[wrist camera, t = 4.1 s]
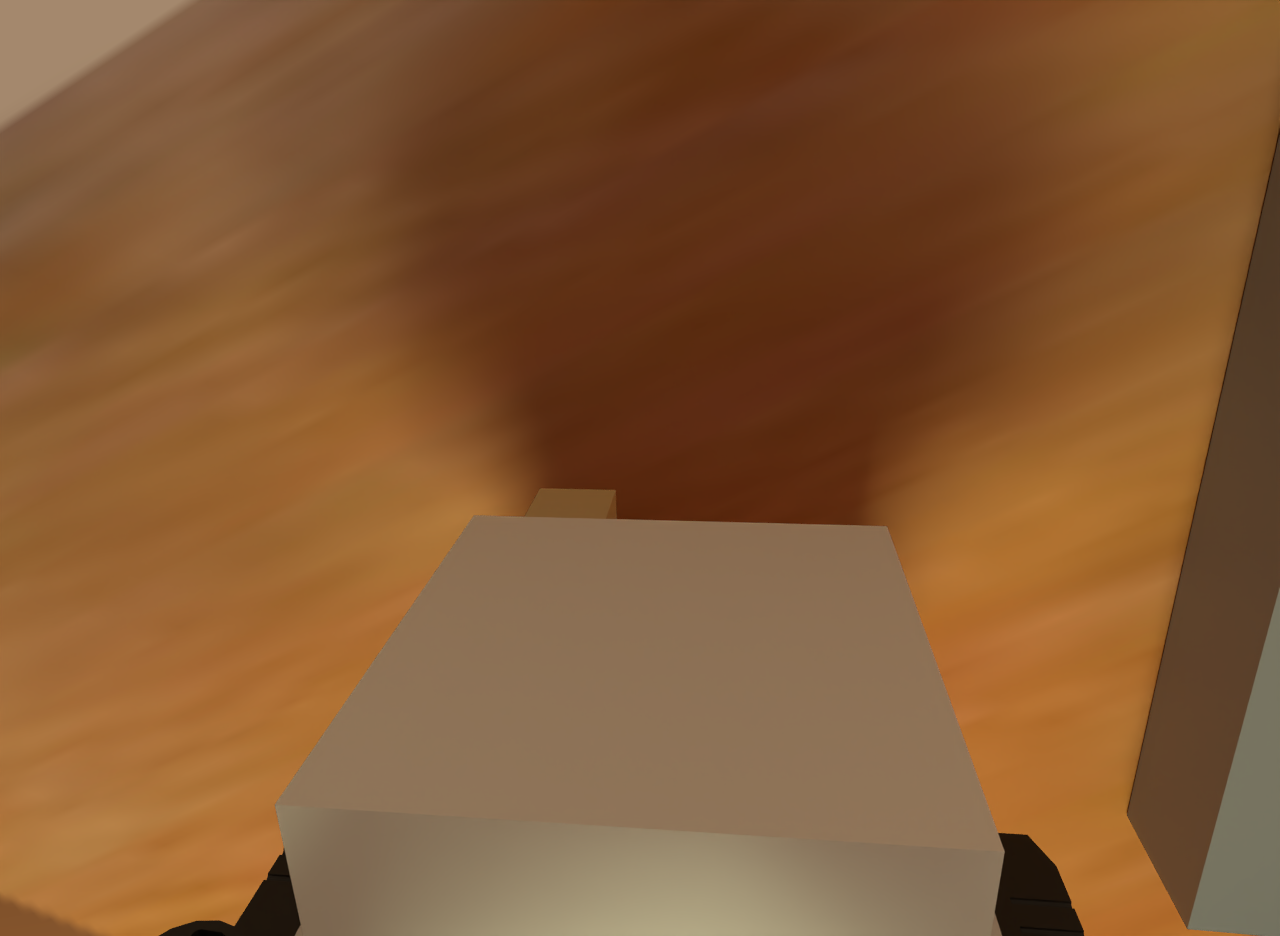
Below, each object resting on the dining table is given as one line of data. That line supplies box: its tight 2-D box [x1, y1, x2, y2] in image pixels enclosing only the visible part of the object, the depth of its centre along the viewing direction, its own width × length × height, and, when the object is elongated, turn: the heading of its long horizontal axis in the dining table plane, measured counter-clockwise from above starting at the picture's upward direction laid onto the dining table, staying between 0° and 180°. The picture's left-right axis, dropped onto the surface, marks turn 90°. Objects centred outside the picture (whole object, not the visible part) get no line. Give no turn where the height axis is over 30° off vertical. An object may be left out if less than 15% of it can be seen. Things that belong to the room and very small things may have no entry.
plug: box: [275, 488, 1005, 936], centre depth 13 cm, size 6×8×9 cm
